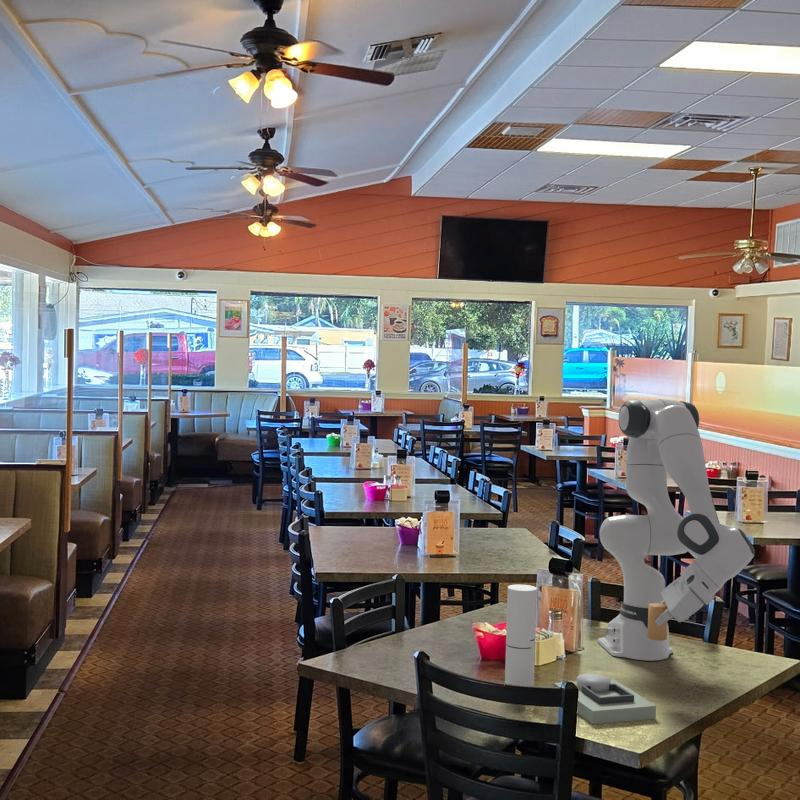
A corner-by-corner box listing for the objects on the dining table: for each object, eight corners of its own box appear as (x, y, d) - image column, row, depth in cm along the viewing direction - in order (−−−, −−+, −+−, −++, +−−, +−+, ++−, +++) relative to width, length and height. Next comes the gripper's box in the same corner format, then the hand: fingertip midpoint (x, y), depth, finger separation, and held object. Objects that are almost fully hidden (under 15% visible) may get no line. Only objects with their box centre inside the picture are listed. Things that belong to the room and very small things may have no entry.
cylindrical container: (539, 687, 245) (542, 587, 244) (522, 694, 240) (525, 592, 239) (515, 681, 250) (518, 583, 249) (498, 687, 245) (501, 587, 244)
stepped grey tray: (553, 695, 240) (554, 674, 240) (612, 690, 244) (613, 670, 244) (592, 724, 221) (593, 702, 221) (655, 718, 225) (656, 697, 225)
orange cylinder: (643, 635, 244) (645, 603, 243) (660, 634, 245) (661, 602, 245) (653, 641, 239) (654, 608, 239) (670, 640, 241) (671, 607, 240)
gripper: (682, 564, 251) (642, 599, 252) (694, 582, 230) (650, 621, 232) (700, 582, 250) (659, 618, 252) (713, 602, 230) (669, 641, 232)
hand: (655, 619), depth 242 cm, fingers closed on orange cylinder, 5 cm apart
